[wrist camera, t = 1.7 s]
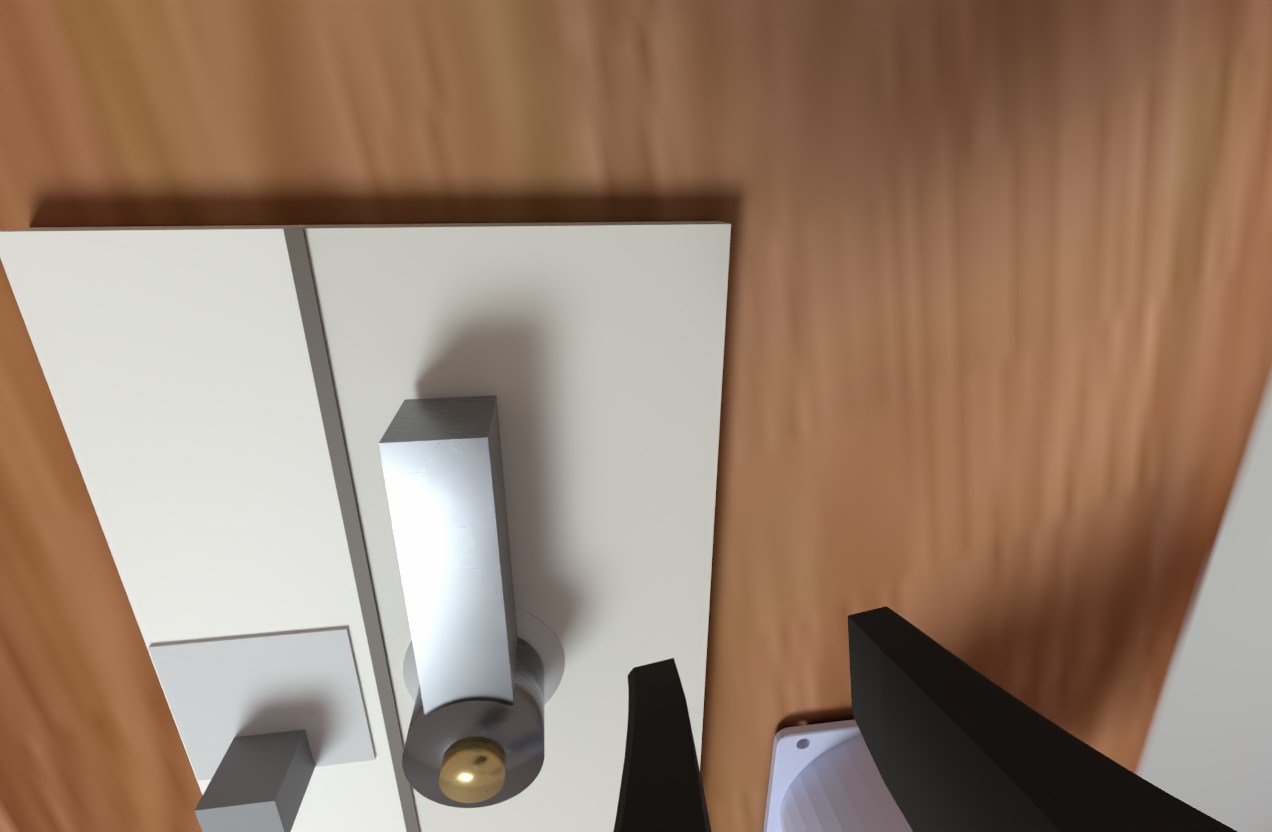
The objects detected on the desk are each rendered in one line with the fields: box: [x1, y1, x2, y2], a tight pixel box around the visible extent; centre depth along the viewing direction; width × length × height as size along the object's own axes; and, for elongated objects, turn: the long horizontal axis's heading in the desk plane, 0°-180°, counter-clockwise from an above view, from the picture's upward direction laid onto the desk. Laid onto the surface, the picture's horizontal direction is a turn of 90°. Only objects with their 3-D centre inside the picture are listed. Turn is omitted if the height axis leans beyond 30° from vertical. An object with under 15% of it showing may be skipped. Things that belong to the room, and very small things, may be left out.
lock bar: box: [379, 395, 544, 808], centre depth 16 cm, size 11×4×3 cm, turn 0°
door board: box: [0, 221, 731, 832], centre depth 18 cm, size 16×24×3 cm, turn 0°
